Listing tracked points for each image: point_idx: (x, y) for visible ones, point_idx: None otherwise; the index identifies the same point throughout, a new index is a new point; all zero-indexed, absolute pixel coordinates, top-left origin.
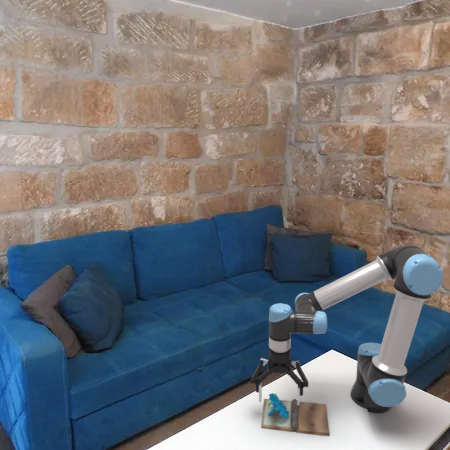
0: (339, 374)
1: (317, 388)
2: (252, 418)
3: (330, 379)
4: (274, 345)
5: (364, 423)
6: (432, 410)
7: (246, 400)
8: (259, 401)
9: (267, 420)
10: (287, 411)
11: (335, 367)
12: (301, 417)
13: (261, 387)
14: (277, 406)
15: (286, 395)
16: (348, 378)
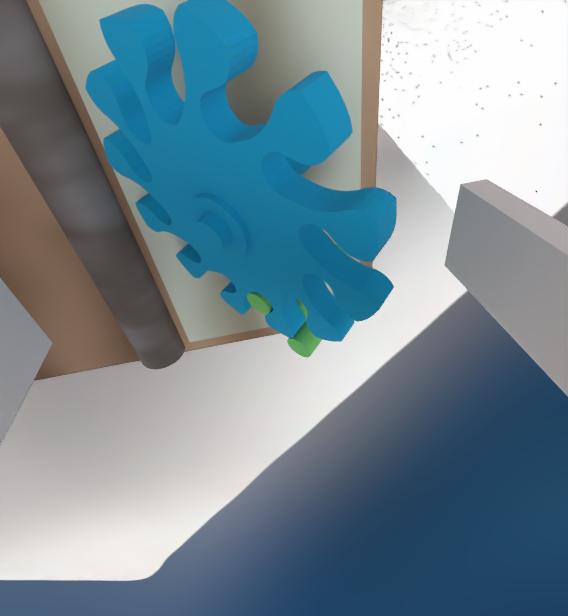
0: (59, 535)
1: (104, 462)
2: (456, 86)
3: (78, 511)
4: None
5: None
6: None
7: None
8: (483, 184)
9: (325, 41)
10: (154, 220)
11: (97, 549)
12: (25, 212)
13: (549, 354)
14: (232, 138)
15: (240, 382)
16: (9, 534)
